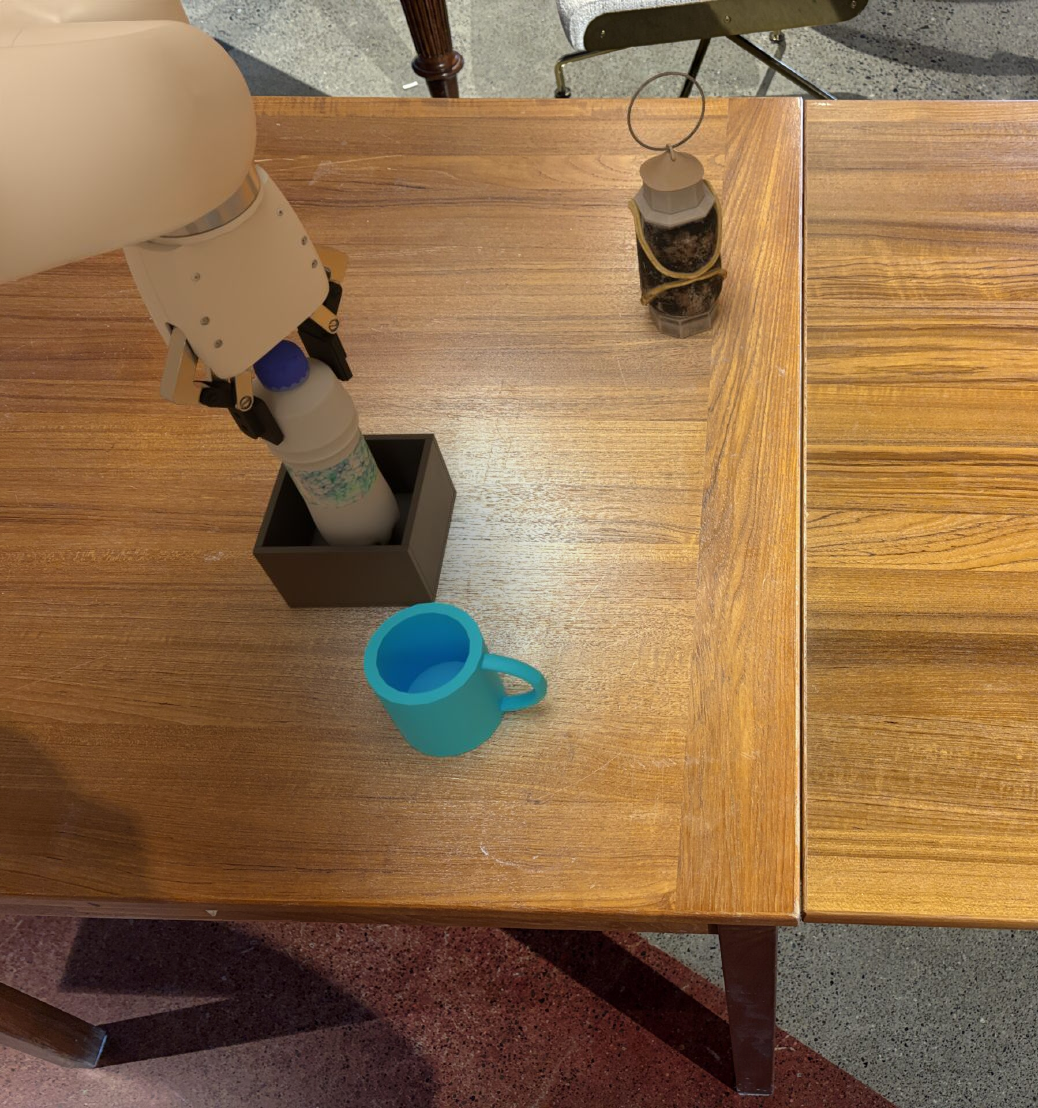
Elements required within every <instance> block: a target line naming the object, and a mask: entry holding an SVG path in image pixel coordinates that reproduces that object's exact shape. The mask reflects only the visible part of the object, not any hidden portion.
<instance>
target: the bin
mask: <svg viewBox="0 0 1038 1108" xmlns="http://www.w3.org/2000/svg"><path fill="white" fill-rule="evenodd" d="M362 435H363V437H364V439H365V441H366V443H367V445H368V448H369V450H370V452H371V454H372V456H373V458H374V460H375V463H376V465H377V467H378V469H379V471H380V472H381V474H382V476H383V477H384V479H385V481H386V482H387V484H388V486H389V487H390V489H391V491H392V493H393V495H394V497H395V499H396V502H397V506H398V509H399V513H400V521H399V525H398V526H397V527H396V528H395V529H393V530H392V535H391V540H390V542H389V543H388V544H387V545H380V544H375V545H373V546H331V545H330V544H329V543H328V542H327V541H326V540H325V538H324V537H323V536H322V535H321V533H320V531H319V530H318V528H317V526H316V524H315V522H314V520H313V518H312V516H311V513H310V511H309V509H308V506H307V504H306V502H305V500H304V498H303V497H302V495H301V493H300V492H299V490H298V488H297V487H296V485H295V483H294V481H293V480H292V478H291V476H290V474H289V473H288V471H287V469H286V468H285V466H284V464H283V462H282V461H281V463H280V467H279V470H278V472H277V476H276V479H275V482H274V485H273V488H272V491H271V494H270V496H269V500H268V502H267V506H266V508H265V509H266V510H265V512H264V515H263V518H262V522H261V525H260V527H259V531H258V533H257V537H256V540H255V543H254V547H253V549H252V555H253V557H254V558H255V559H256V561H257V562H258V564H259V565H260V566H261V569H262V570H263V571H264V573H265V574H266V575H267V577H268V578H269V580H270V581H271V583H272V584H273V586H274V588H276V590H277V591H278V593H279V594H280V596H281V597H282V598H283V600H284V602H285V603H286V605H287V607H289V608H290V609H291V608H293V609H294V608H296V609H297V608H373V607H374V608H375V607H376V608H378V607H379V608H380V607H381V608H383V607H385V608H386V607H411V606H414V605H417V604H423V603H433V602H436V597H437V592H438V587H439V582H440V577H441V573H442V572H441V571H442V567H443V561H444V557H445V552H446V548H447V541H448V537H449V533H450V527H451V522H452V517H453V512H454V508H455V507H454V506H455V501H456V496H457V490H456V488H455V484H454V481H453V479H452V477H451V474H450V471H449V468H448V466H447V464H446V461H445V459H444V456H443V453H442V451H441V448H440V446H439V443H438V440H437V438H436V435H435V433H432V432H431V433H375V434H373V433H371V434H366V433H362Z"/></svg>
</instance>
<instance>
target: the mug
mask: <svg viewBox="0 0 1038 1108" xmlns="http://www.w3.org/2000/svg"><path fill="white" fill-rule="evenodd" d="M362 668H363V671H364V674H365V679H366V682H367V683H368V685H369V687H370V688H371V690H372V691H373V692H374V694H375V696H376V697H377V699H378V700H379V702H380V703H381V705H382V707H383V708H384V709H385V711H386V713H387V714H388V716H389V718H390V719H391V721H392V722H393V724H394V725H395V727H396V728H397V729H398V731H399V733H400V734H401V736H402V737H403V738H404V740H405V741H406V742H407V744H408V745H409V746H410V747H412V748H413V749H415V750H416V751H418V752H420V753H422V754H423V755H428V756H433V757H439V758H444V757H456V756H460V755H462V754H465V753H468V752H471V751H472V750H475V749H476V748H478V747H479V746H480V745H482V744H483V743H484V742H486V741H487V740H489V739H491V737H492V735H493V734H494V733H495V731H496V730H497V728H498V727H499V726H500V725H501V723H502V720H503V717H504V714H505V712H512V711H519V710H524V709H527V708H530V707H533V706H535V705H538V704H539V703H540V702H541V701H542V700H543V699H544V698H545V697H546V696H547V693H548V680H547V679H546V678H545V676H544V674H543V673H542V672H541V671H540V670H539V669H537V668H535V667H534V666H532V665H531V664H529V663H527V662H524V661H521V660H518V659H516V658H514V657H509V656H505V655H500V654H495V653H490V651H489V648H488V646H487V643H486V641H485V639H484V636H483V634H482V631H481V629H480V627H479V624H478V623H477V622H476V621H475V620H474V619H473V617H472V616H471V615H470V613H468V612H467V611H465V610H464V609H461V608H459V607H457V606H455V605H454V604H448V603H443V602H437V601H435V602H433V603H423V604H417V605H414V606H407V607H406V608H403V609H400V610H399V611H397V612H396V613H394V614H393V615H391V616H390V617H388V618H387V619H385V620H383V622H382V623H381V624H380V625H379V626H378V628H376V630H375V631H374V632H373V633H372V634H371V637H370V638H369V641H368V643H367V645H366V647H365V649H364V656H363V664H362ZM499 673H501V674H505V675H506V674H507V675H509V676H512V677H514V678H518V679H520V680H522V681H524V682H526V683H528V684H529V685H531V687H532V688H533V689H531V690H528V691H526V692H524V693H519V694H518V693H517V694H512V695H507V692H506V688H505V687H504V684H503V680H502V678H501V676H500V674H499Z"/></svg>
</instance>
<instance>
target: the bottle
mask: <svg viewBox="0 0 1038 1108" xmlns="http://www.w3.org/2000/svg"><path fill="white" fill-rule="evenodd" d="M252 369H253V371H254V373H255V375H256V376H255V377H254V378H253V379H252V388H253V395H254V396H256V397H258V398H260V399H262V400H263V401H264V402H265V403H266V405H267V406H268V408H269V410H270V412H271V414H272V415H273V417H274V419H275V421H276V423H277V424H278V426H279V428H280V430H281V432H282V433H283V435H284V438H283V439H284V441H283V442H281V443H280V444H279V445H278V446H277V445H274V444H272V443H270V442H268V441H266V440H264V439H262V438H261V440H262V441H263V443H265V445H266V446H267V449H268V450H269V452H270V453H271V454H272V455H273V456H275V457H276V458H277V459H279V460H280V461H281V463H282V462H283V464H284V466H285V468H286V469H287V471H288V473H289V474H290V476H291V478H292V480H293V481H294V483H295V485H296V487H297V488H298V490H299V492H300V493H301V495H302V497H303V498H304V500H305V502H306V504H307V506H308V509H309V511H310V513H311V516H312V518H313V520H314V522H315V524H316V526H317V528H318V530H319V531H320V533H321V535H322V536H323V537H324V538H325V540H326V541H327V542H328V543H329V544H330V545H331V546H373V545H375V544H380V545H387V544H388V543H389V542H390V540H391V535H392V530H393V529H395V528H396V527H397V526H398V525H399V521H400V513H399V509H398V506H397V502H396V499H395V497H394V495H393V493H392V491H391V489H390V487H389V486H388V484H387V482H386V481H385V479H384V477H383V476H382V474H381V472H380V471H379V469H378V467H377V465H376V463H375V460H374V458H373V456H372V454H371V452H370V450H369V448H368V445H367V443H366V441H365V439H364V437H363V435H362V434H363V433H362V430H361V429H360V416H359V414H358V410H357V409H356V407H355V403H354V399H353V398H352V396H351V395H350V394H349V392H348V391H347V390H346V388H345V387H344V385H343V384H342V382H341V380H339V379H338V378H337V377H336V375H335V374H334V373H333V371H332V370H331V368H330V367H329V366H328V365H326V364H325V363H324V362H322V361H320V360H318V359H314V358H310V357H309V356H306V355H305V353H304V350H303V349H302V347H300V346H299V345H298V344H297V343H295V342H293V341H291V340H289V339H283V340H281V341H280V342H279V343H278V344H277V345H276V346H274V347H273V348H272V349H271V350H270V351H269V352H267V353H266V354H265V355H264V356H263V357H261V358H260V359H259V360H258V361H257V362H255V363H254V364H253V365H252Z"/></svg>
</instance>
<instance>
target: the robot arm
mask: <svg viewBox="0 0 1038 1108" xmlns="http://www.w3.org/2000/svg"><path fill="white" fill-rule="evenodd" d="M259 134H260V133H259V130H258V128H257V116H256V111H255V105H254V101H253V98H252V94H251V92H250V88H249V87H248V84H247V82H246V79H245V78H244V75H243V73H242V72H241V70H240V68H239V67H238V65H237V64H236V62H235V61H234V59H233V58H232V57H231V55H230V54H229V53H228V52H227V51H226V50H225V48H224V47H223V46H222V45H221V44H220V43H219V42H218V41H217V40H215V39H214V38H213V37H212V36H211V35H209V34H208V33H206V32H205V31H203V30H202V29H200V28H198V27H196V26H193V25H192V24H191V22H190V20H189V18H188V15H187V14H186V11H185V9H184V7H183V4H182V2H181V0H0V285H5V284H9V283H11V282H14V281H18V280H20V279H24V278H28V277H29V276H33V275H36V274H39V273H43V272H46V271H48V270H53V269H56V268H58V267H61V266H66V265H68V264H71V263H72V264H73V263H75V262H79V261H82V260H85V259H88V258H89V259H90V258H93V257H97V256H100V255H103V254H106V253H110V252H114V251H118V250H121V249H122V250H123V254H124V258H125V260H126V263H127V266H128V268H129V271H130V274H131V276H132V279H133V282H134V284H135V286H136V288H137V291H138V293H139V295H140V297H141V300H142V301H143V304H144V305H145V308H146V310H147V311H148V313H149V316H150V318H151V320H152V321H153V324H154V325H155V327H156V329H157V331H158V333H159V335H160V337H161V339H162V340H163V342H164V343H165V345H166V347H167V352H166V356H165V361H164V366H163V371H162V374H161V379H160V384H159V388H158V394H159V396H160V397H161V398H162V399H164V400H166V401H168V402H170V403H172V404H174V405H176V406H195V407H198V406H205V407H208V408H215V409H216V408H217V409H227V410H228V412H229V414H230V415H231V417H232V419H233V420H234V422H235V424H236V426H237V427H238V428H239V430H240V431H241V432H242V433H243V435H245V436H246V437H248V438H250V439H252V440H255V441H257V440H258V439H259V438H260V439H261V440H262V439H264V440H266V441H268V442H270V443H272V444H274V445H277V446H278V445H279V444H280V443H281V442H283V441H284V439H283V438H284V435H283V433H282V432H281V430H280V428H279V426H278V424H277V423H276V421H275V419H274V417H273V415H272V414H271V412H270V410H269V408H268V406H267V405H266V403H265V402H264V401H263V400H262V399H260V398H258V397H256V396H254V395H253V388H252V381H253V379H252V370H251V366H252V367H253V364H254V363H255V362H257V361H258V360H259V359H260V358H261V357H263V356H264V355H265V354H266V353H267V352H269V351H270V350H271V349H272V348H273V347H274V346H276V345H277V344H278V343H279V342H280V341H281V340H285V338H286V337H288V336H289V335H291V333H292V332H293V331H295V330H296V329H297V331H296V332H297V334H298V336H299V338H300V340H301V343H302V344H303V347H304V349H305V351H306V353H307V356H308V357H310V358H314V359H318V360H320V361H322V362H324V363H325V364H326V365H328V366H329V367H330V368H331V370H332V371H333V373H334V374H335V375H336V377H337V378H338V380H339V381H340V382H343V383H345V382H349V381H350V380H351V379H352V378H353V377H354V374H353V371H352V370H351V367H350V365H349V363H348V361H347V358H348V355H347V352H346V350H345V347H344V346H343V344H342V341H341V339H340V337H339V334H338V331H339V330H340V328H341V325H342V323H341V319H340V318H339V317H338V316H337V315H338V311H339V308H340V303H341V300H342V296H343V290H344V289H343V286H342V285H341V284H342V283H343V282H344V278H345V275H346V271H347V266H348V263H349V255H348V254H347V253H346V252H344V251H341V250H340V249H336V248H334V247H331V246H328V245H324V244H319V243H314V242H312V240H311V238H310V235H309V234H308V232H307V230H306V229H305V227H304V225H303V223H302V221H301V220H300V218H299V216H298V214H297V213H296V212H295V210H294V208H293V207H292V205H291V204H290V203H289V201H288V199H287V198H286V196H285V195H284V194H283V193H282V191H281V189H280V188H279V187H278V186H277V184H276V183H275V182H274V180H273V179H272V178H271V176H270V175H269V174H268V173H267V171H266V170H265V169H264V168H263V167H261V166H260V165H258V164H256V161H255V159H254V156H255V153H256V152H255V151H256V146H257V138H259V136H260V135H259ZM199 360H200V361H201V362H202V363H203V364H204V368H205V376H206V377H205V378H206V380H198V379H197V380H195V375H196V372H197V367H198V363H199Z"/></svg>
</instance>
